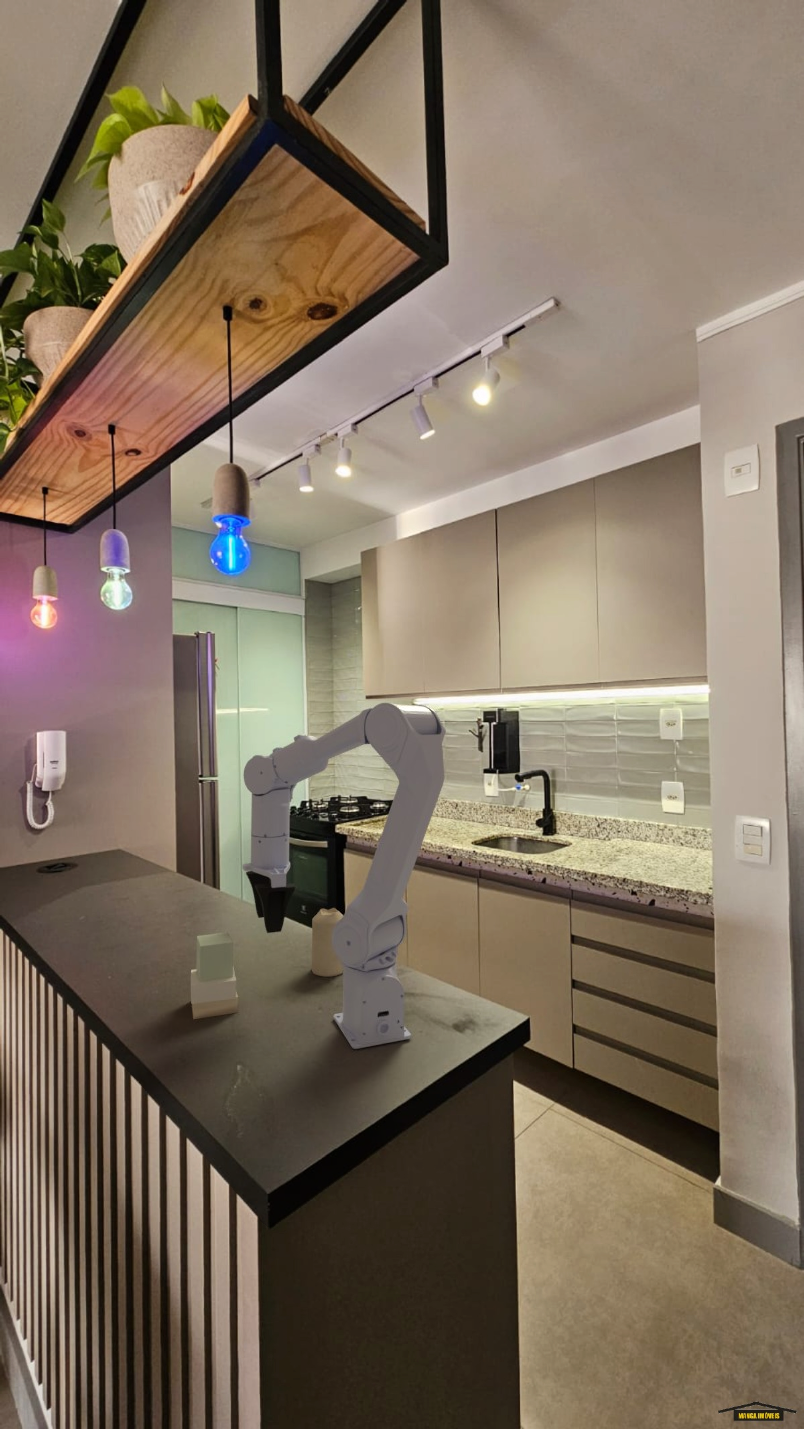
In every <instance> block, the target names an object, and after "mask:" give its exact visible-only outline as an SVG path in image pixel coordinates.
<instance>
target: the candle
mask: <svg viewBox="0 0 804 1429" xmlns="http://www.w3.org/2000/svg"><path fill="white" fill-rule="evenodd" d="M343 916H344V914H342V913H341V912H340V911H339V910H337V909H336V907H332V908H330V909H326V908H320V909H319V911H318V912H317V914H316V915H314V917H313V918H312V921H311V922H312V923H311V924H312V925H311V927H312V928H311V929H312V930H311V931H312V932H311V937H312V938H311V970H312V973H313V975H316V976H319V977H324V978H325V977H335V976H339V975H343V965H341V964H340V960H339V958H338V957H337V956H336V954H335V952H334V949H333V946H332V931H333V928H334V926H335V925H336V923H337V922H338V921H339V920H341V919H342V917H343Z"/></svg>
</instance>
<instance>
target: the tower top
mask: <svg viewBox="0 0 804 1429" xmlns="http://www.w3.org/2000/svg"><path fill="white" fill-rule="evenodd" d="M236 992H237V977H236V973H235V969H234V966H233V977H230V978H223V979H217V980H210V981H204V982H200V980H199V977H198V974H197V971H196V968H195V969H191V971H190V1002H191V1004H196V1003H204V1002H211V1001H219V1000H227V999H234V998H236Z"/></svg>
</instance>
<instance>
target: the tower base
mask: <svg viewBox="0 0 804 1429" xmlns="http://www.w3.org/2000/svg"><path fill="white" fill-rule="evenodd" d="M191 1011H192V1018H193V1020H195V1019H203V1018H210V1017H215V1016H216V1017H218V1016H223V1015H228V1014H237V1013H238V1012H239V996H238V992H237V991H236V998H234V999H227V1000H219V1001H211V1002H204V1003H196V1004H192V1005H191Z"/></svg>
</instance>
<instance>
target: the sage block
mask: <svg viewBox="0 0 804 1429" xmlns="http://www.w3.org/2000/svg"><path fill="white" fill-rule="evenodd" d="M195 956H196V960H195V961H196V963H195V965H196V966H195V967H196V968H195V969H196V971H197V974H198V977H199V980H200V982H204V981H210V980H217V979H223V978H230V977H233V967H234V940H233V939H232V937H231V935H230V933H229V932H228V931H225V932H219V933H212V934H209V933H208V934H203V935H201V934H200V935H197V936H196V955H195Z"/></svg>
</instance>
